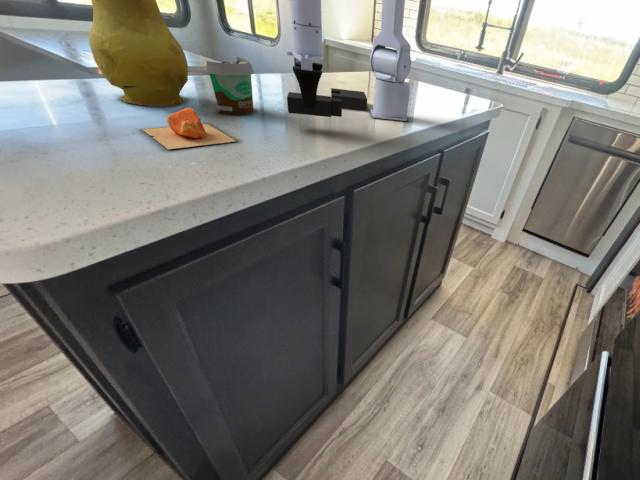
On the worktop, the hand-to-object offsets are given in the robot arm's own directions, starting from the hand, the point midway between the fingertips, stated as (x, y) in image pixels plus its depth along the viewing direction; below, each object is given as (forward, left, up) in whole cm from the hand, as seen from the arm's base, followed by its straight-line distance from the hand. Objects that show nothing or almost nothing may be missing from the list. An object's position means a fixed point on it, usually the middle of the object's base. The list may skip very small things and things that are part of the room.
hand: (310, 104), depth 73 cm
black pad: (-1, 0, -1) cm, 2 cm away
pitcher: (+36, -14, -5) cm, 39 cm away
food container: (+16, -10, -5) cm, 20 cm away
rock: (+22, +11, -5) cm, 25 cm away
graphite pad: (-10, -29, -5) cm, 31 cm away
